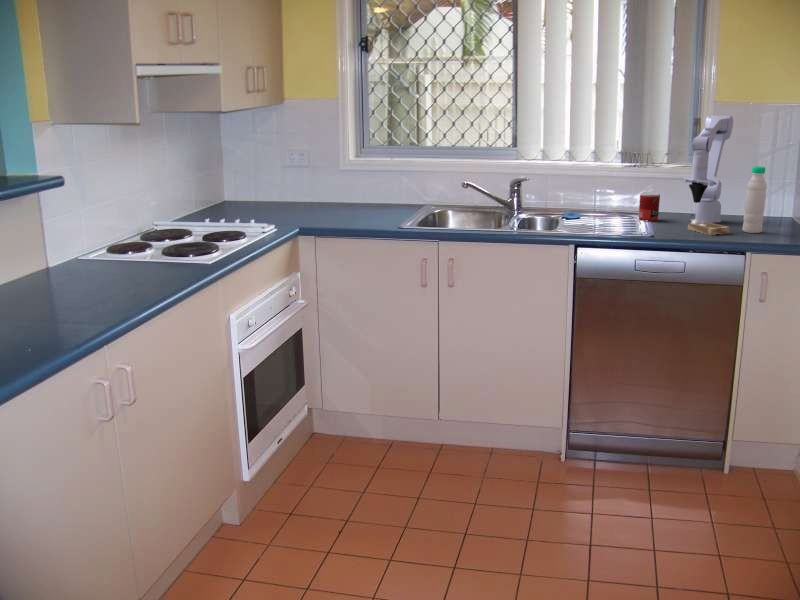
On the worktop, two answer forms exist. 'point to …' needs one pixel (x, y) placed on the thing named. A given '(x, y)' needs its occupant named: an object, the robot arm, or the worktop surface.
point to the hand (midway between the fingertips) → (696, 202)
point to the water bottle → (755, 201)
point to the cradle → (709, 228)
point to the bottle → (698, 223)
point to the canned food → (649, 206)
